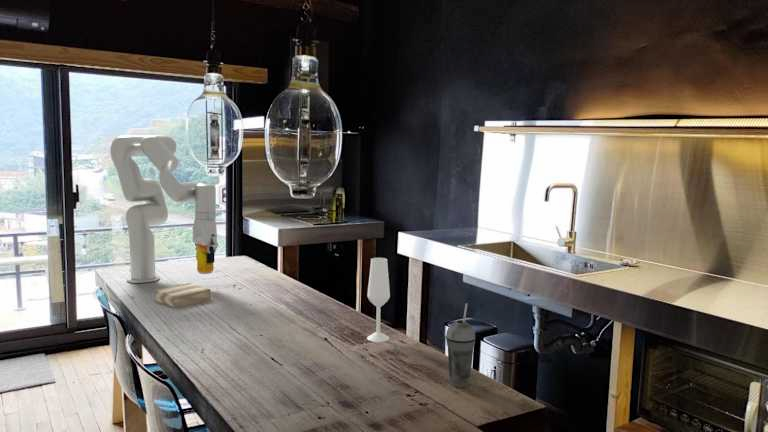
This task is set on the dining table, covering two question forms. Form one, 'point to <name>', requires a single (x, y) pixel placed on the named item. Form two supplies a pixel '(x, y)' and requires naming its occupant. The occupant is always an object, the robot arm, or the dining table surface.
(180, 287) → the birch plinth
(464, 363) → the beverage cup
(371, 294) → the champagne flute
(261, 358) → the dining table surface
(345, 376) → the dining table surface
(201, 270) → the beer can
